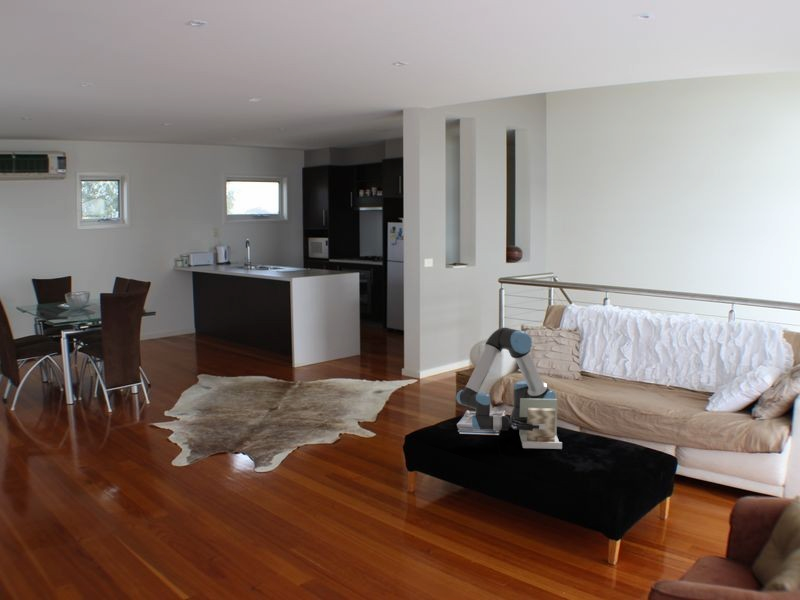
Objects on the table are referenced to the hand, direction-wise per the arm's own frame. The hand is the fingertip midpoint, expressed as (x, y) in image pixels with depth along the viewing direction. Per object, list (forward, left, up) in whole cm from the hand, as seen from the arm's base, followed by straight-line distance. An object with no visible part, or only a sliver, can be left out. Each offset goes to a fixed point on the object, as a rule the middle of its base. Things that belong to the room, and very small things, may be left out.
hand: (544, 423), depth 378 cm
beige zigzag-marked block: (+1, -1, -10) cm, 10 cm away
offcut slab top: (+3, +5, -8) cm, 10 cm away
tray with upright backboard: (+1, -2, -11) cm, 11 cm away
